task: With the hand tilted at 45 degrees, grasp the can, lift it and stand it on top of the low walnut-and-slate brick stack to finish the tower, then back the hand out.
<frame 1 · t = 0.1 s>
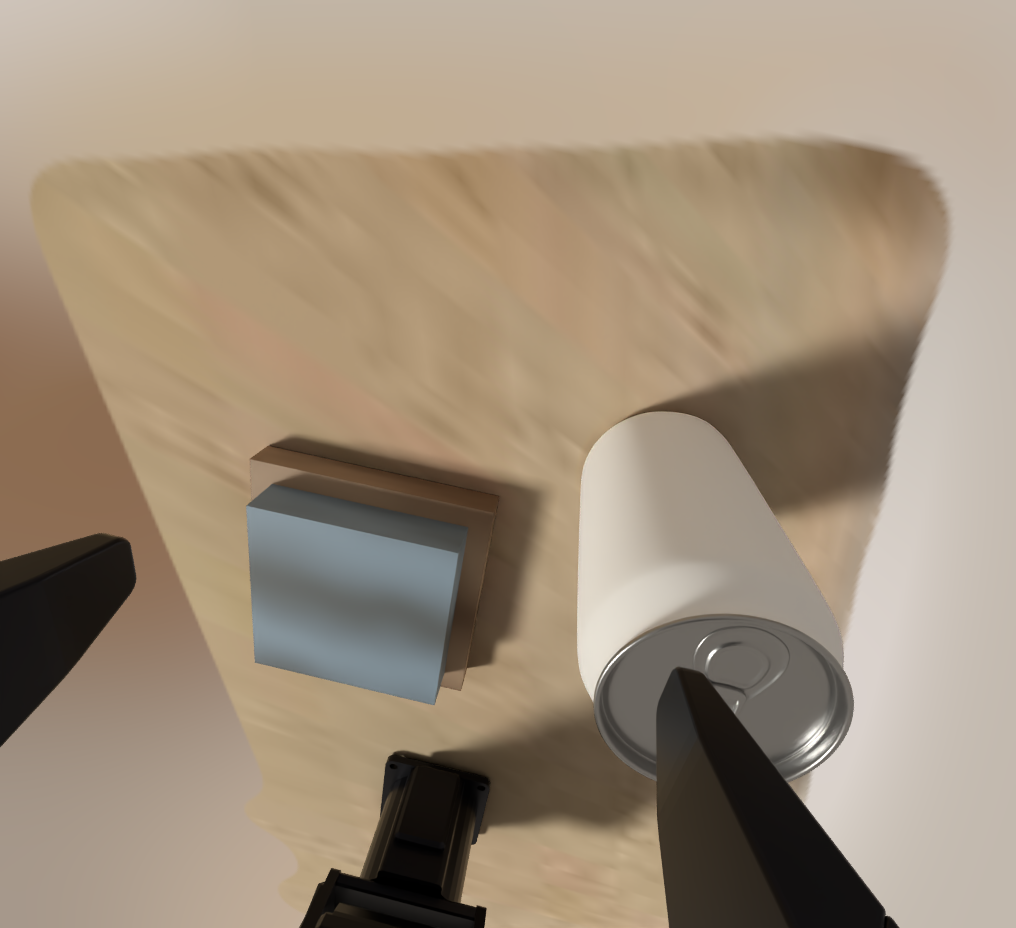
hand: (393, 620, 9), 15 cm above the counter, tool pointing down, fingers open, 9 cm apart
can: (656, 476, 23), on the counter
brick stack: (375, 566, 27), on the counter
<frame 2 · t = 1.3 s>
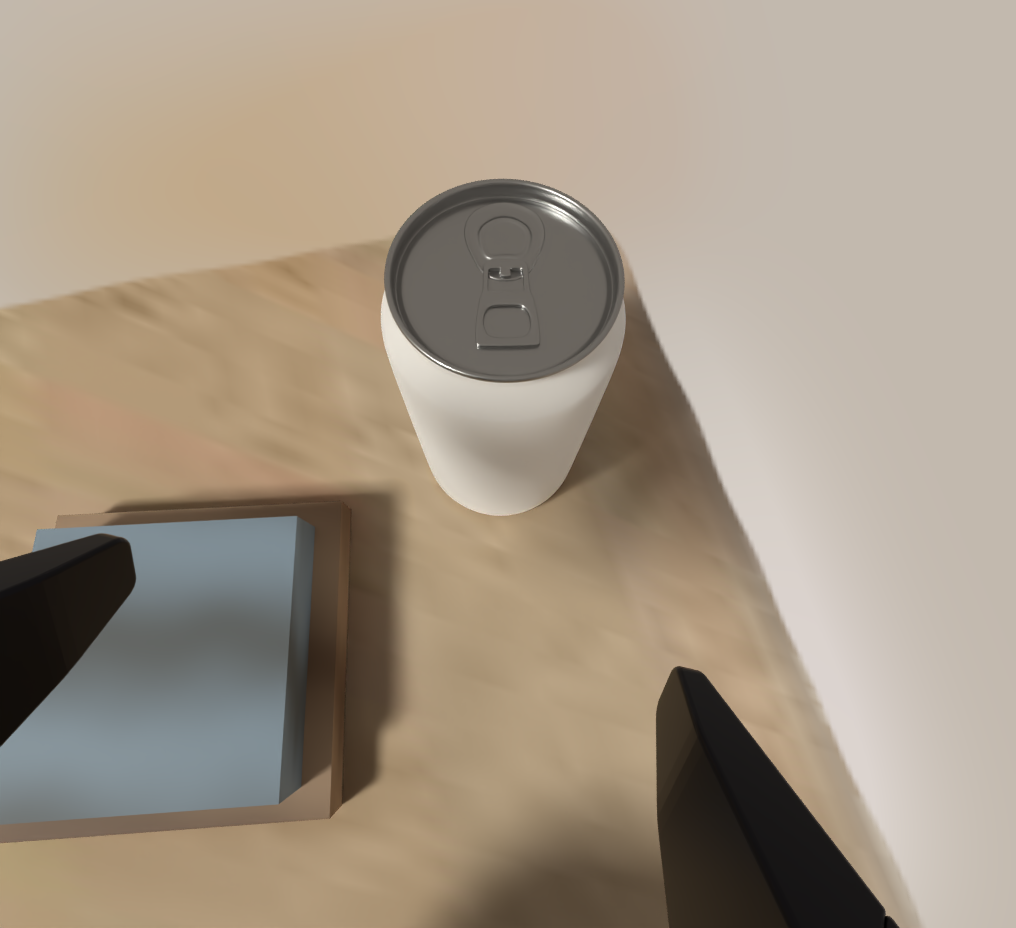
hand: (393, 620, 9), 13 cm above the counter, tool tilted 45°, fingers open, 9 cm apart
can: (500, 448, 24), on the counter
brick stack: (204, 654, 21), on the counter
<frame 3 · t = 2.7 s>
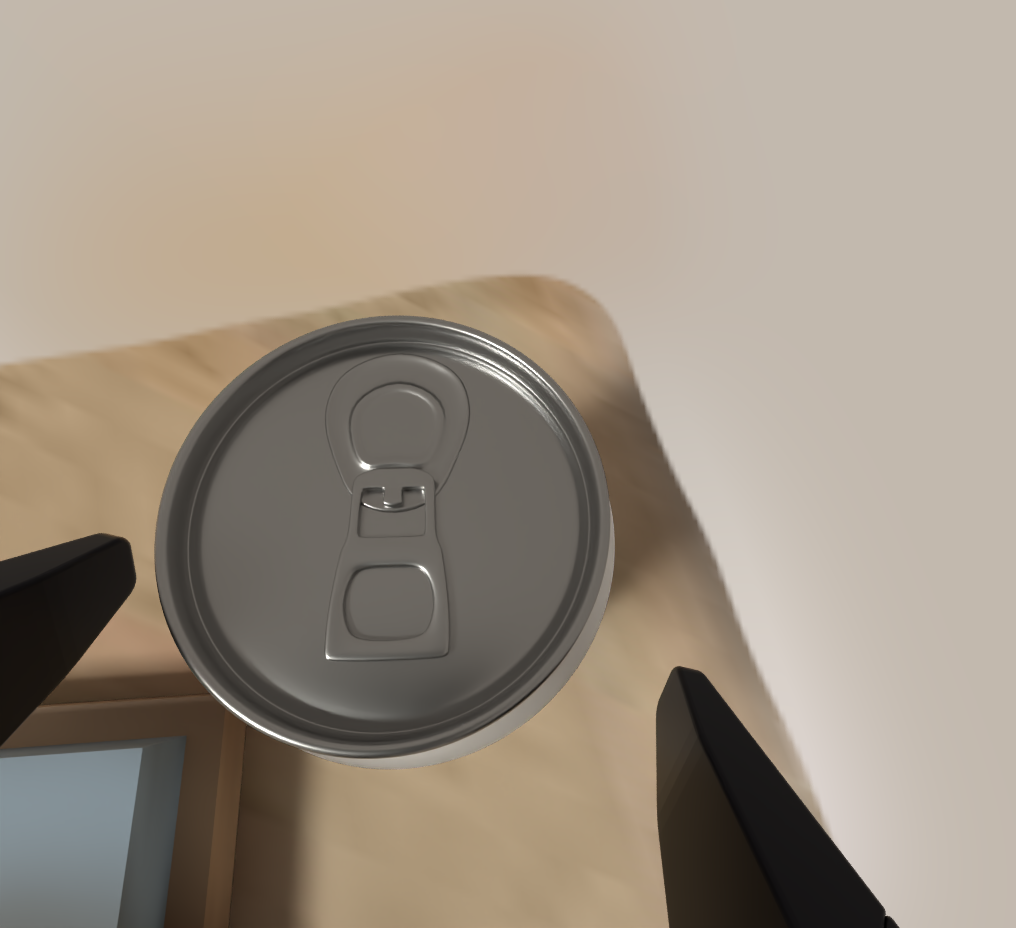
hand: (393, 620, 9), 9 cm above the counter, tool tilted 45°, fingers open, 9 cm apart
can: (454, 597, 18), on the counter
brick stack: (27, 919, 15), on the counter
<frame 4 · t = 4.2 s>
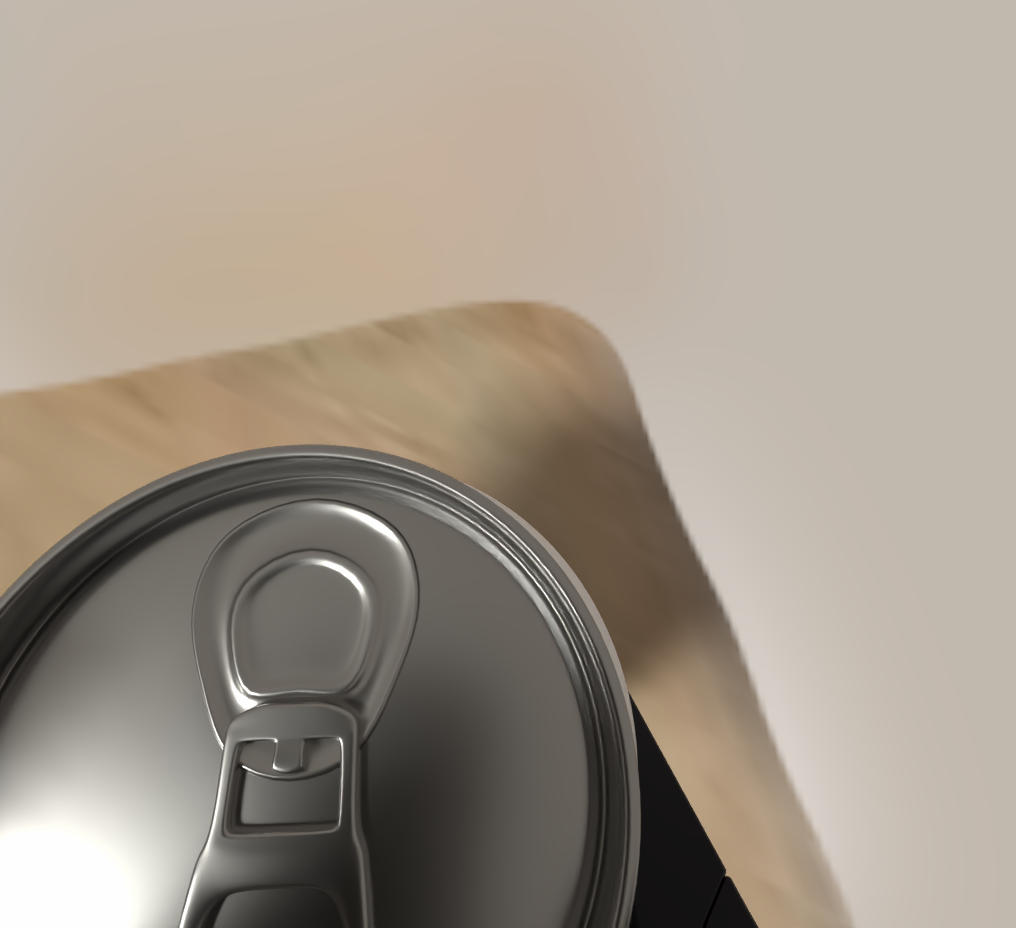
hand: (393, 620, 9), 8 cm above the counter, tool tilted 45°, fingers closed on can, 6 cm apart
can: (431, 684, 16), on the counter, touching gripper
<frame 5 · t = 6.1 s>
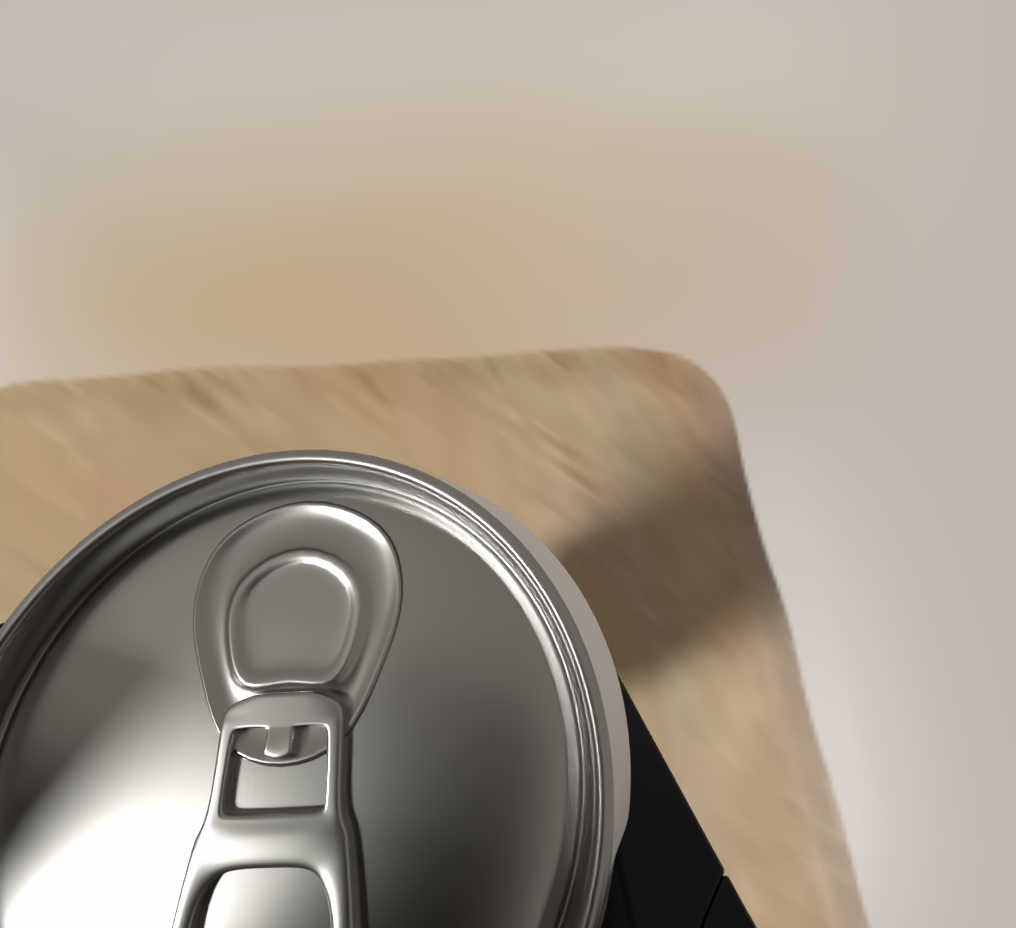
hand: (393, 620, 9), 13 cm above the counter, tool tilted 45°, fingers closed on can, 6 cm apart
can: (459, 693, 16), point 5 cm above the counter, touching gripper
when the fingers open (12 cm above the counter, at t = 8.0 s): can stays where it is, resting on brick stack.
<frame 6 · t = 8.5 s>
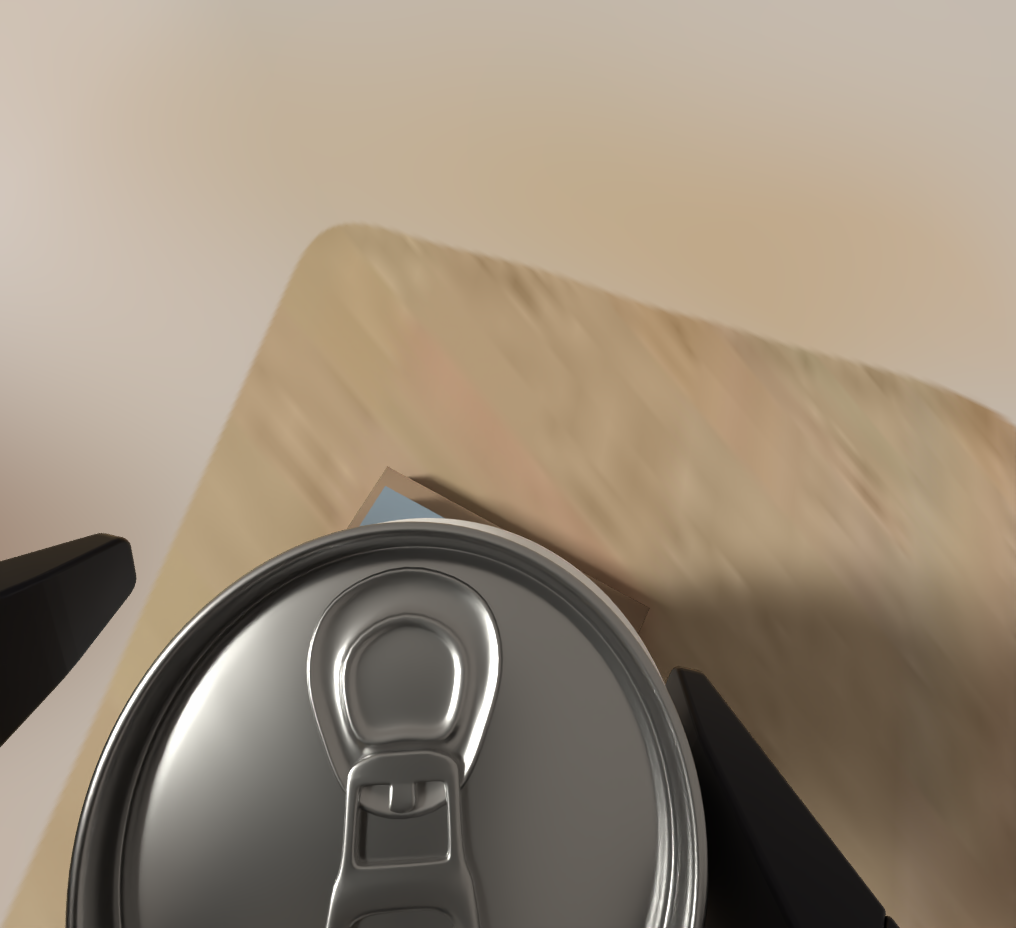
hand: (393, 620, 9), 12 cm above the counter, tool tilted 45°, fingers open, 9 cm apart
can: (465, 698, 16), point 3 cm above the counter, touching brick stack
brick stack: (441, 672, 20), on the counter
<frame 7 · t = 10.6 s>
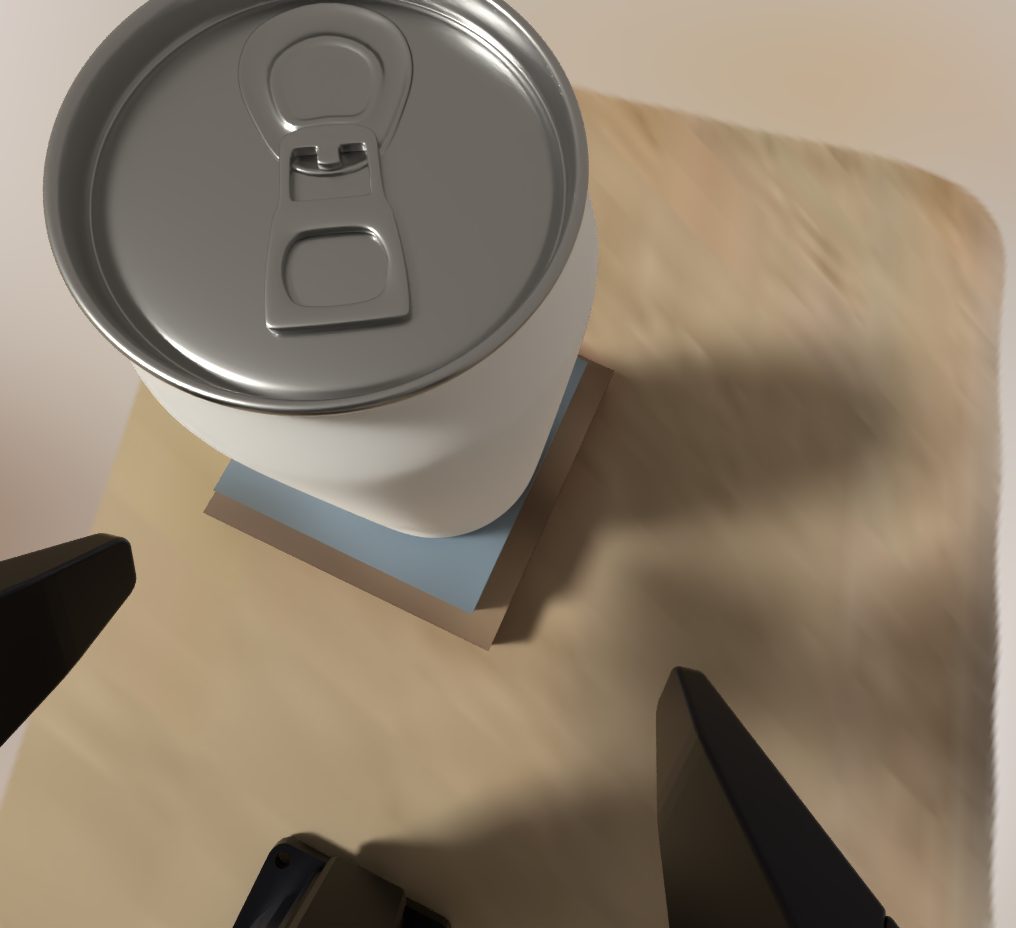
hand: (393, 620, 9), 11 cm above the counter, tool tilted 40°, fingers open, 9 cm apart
can: (440, 440, 17), point 3 cm above the counter, touching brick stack
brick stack: (421, 448, 21), on the counter
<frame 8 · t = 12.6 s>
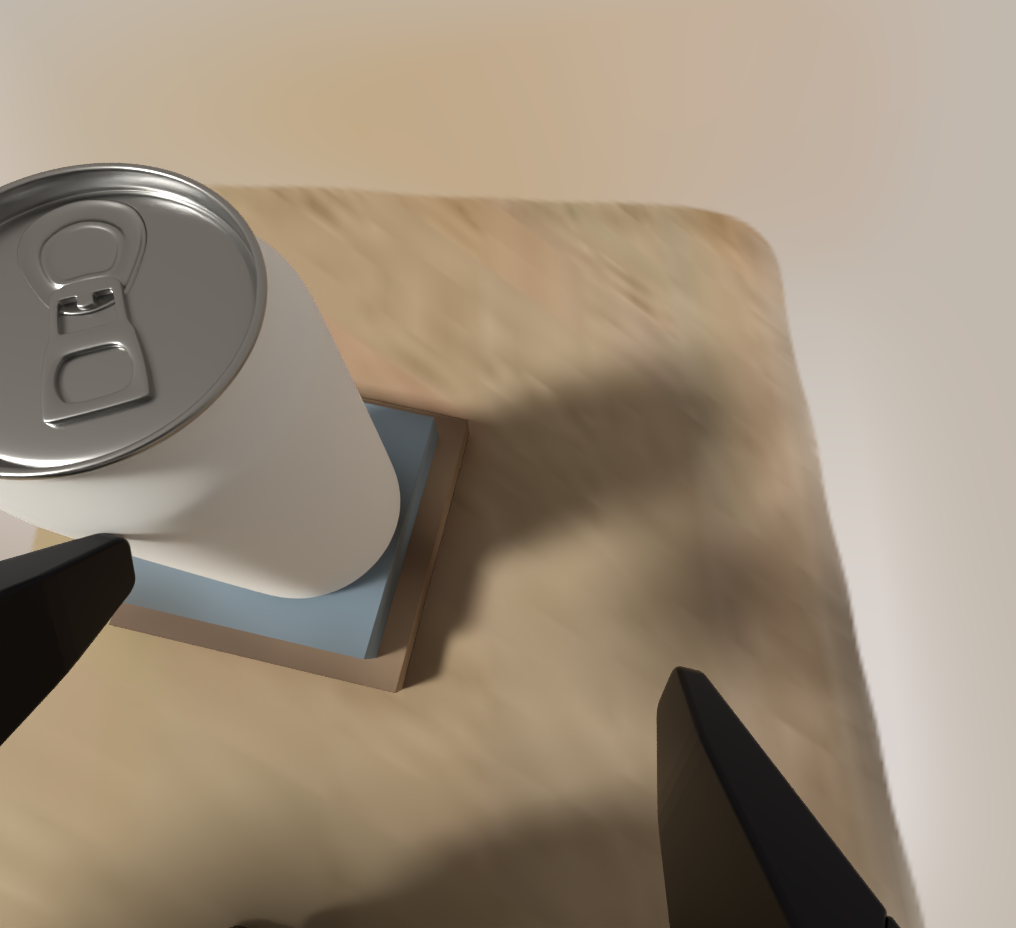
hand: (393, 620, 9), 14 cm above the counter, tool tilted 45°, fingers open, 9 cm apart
can: (314, 510, 19), point 3 cm above the counter, touching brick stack, gripper
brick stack: (312, 523, 23), on the counter
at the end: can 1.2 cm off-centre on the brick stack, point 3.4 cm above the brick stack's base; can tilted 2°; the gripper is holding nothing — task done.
